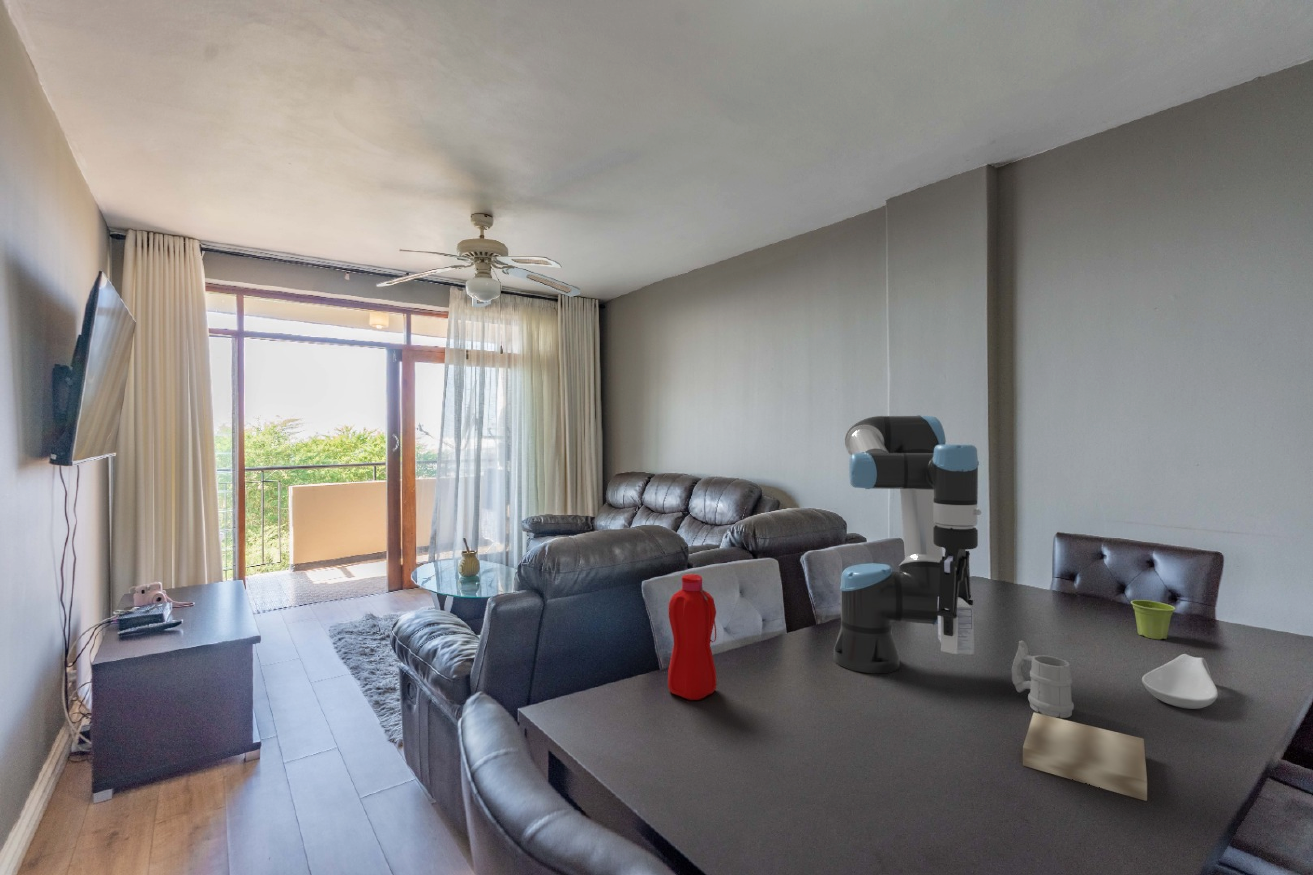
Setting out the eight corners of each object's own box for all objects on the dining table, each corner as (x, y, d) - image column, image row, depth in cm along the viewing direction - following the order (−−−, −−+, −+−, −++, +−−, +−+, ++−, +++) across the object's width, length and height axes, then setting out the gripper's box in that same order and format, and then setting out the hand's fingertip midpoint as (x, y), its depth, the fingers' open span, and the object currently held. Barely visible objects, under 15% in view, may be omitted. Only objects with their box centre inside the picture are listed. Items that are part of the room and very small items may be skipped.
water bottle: (702, 707, 121) (702, 584, 121) (661, 692, 128) (661, 575, 128) (728, 693, 127) (728, 576, 127) (689, 679, 135) (689, 568, 135)
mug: (1058, 722, 115) (1058, 659, 115) (1000, 697, 125) (1000, 640, 125) (1082, 714, 118) (1082, 653, 118) (1023, 691, 129) (1023, 635, 129)
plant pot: (1171, 634, 165) (1171, 603, 165) (1178, 644, 157) (1178, 611, 157) (1128, 628, 170) (1128, 598, 170) (1133, 637, 163) (1133, 606, 162)
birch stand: (1022, 765, 100) (1022, 747, 100) (1033, 728, 112) (1033, 712, 112) (1146, 801, 90) (1147, 781, 90) (1143, 756, 102) (1143, 738, 102)
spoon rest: (1211, 722, 115) (1212, 685, 115) (1135, 701, 124) (1135, 667, 124) (1232, 689, 130) (1232, 656, 130) (1162, 673, 139) (1162, 642, 139)
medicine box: (974, 655, 109) (974, 608, 109) (948, 653, 110) (948, 606, 110) (961, 641, 116) (961, 596, 116) (937, 639, 117) (937, 595, 117)
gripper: (965, 535, 102) (965, 666, 102) (987, 521, 119) (987, 633, 119) (919, 530, 107) (918, 656, 107) (946, 517, 124) (946, 626, 124)
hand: (955, 644), depth 113 cm, fingers closed on medicine box, 9 cm apart
